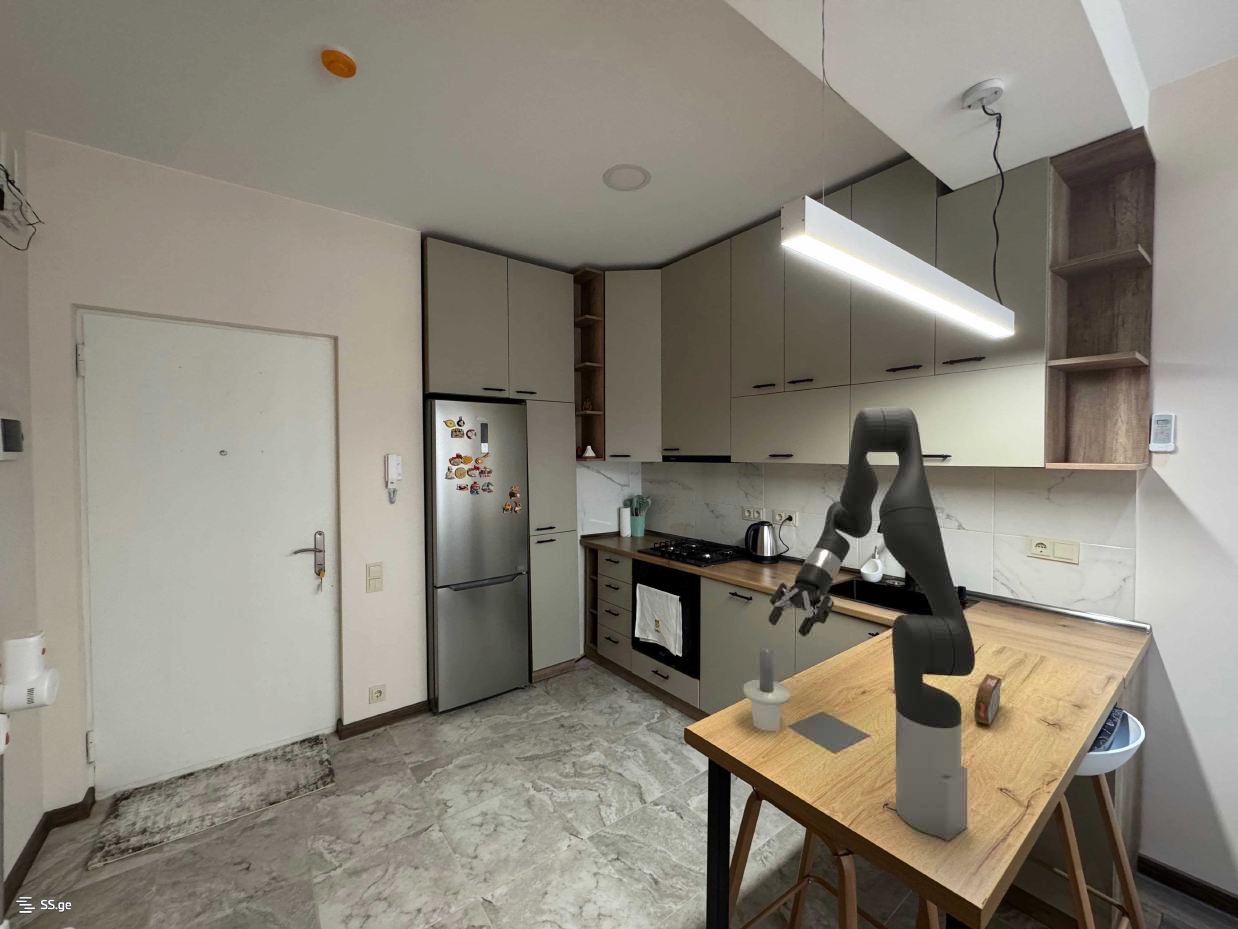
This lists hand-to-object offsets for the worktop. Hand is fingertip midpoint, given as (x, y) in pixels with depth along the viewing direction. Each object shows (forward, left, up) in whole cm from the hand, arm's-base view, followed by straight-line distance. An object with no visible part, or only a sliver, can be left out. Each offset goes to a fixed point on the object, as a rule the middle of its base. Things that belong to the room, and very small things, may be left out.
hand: (785, 628), depth 115 cm
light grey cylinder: (0, +7, -21) cm, 22 cm away
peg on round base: (0, +6, -13) cm, 15 cm away
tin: (-24, -38, -21) cm, 50 cm away
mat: (-9, -2, -20) cm, 22 cm away
